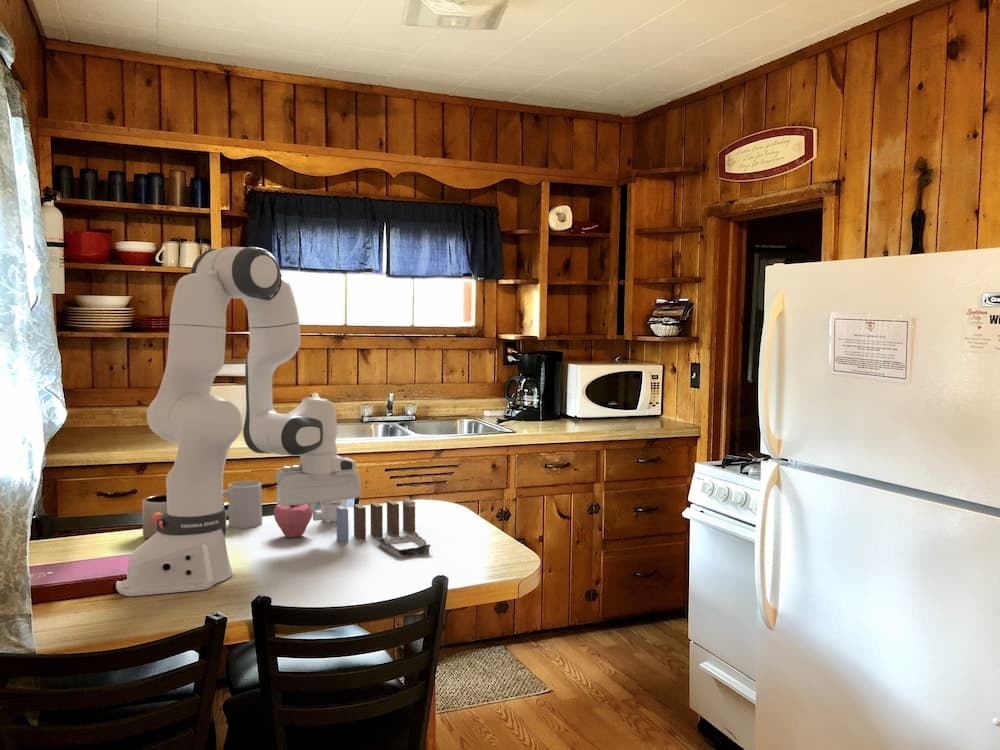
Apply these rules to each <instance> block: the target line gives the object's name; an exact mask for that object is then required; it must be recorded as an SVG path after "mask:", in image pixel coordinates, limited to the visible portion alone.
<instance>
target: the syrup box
mask: <svg viewBox="0 0 1000 750" xmlns="http://www.w3.org/2000/svg"><path fill="white" fill-rule="evenodd" d="M324 506H325V505H324V504H323V502H320V509H321V510H320V512H321V511H322V510H323V508H324ZM338 506H344V507H345V508H347V499H345V500H335V501H331V506H330V508H329V510H328V511H327V513H326V520H321V522H322V521H333V522H332V523H337V522H336V521H337V507H338ZM334 521H335V522H334Z"/></svg>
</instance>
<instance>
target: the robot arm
mask: <svg viewBox="0 0 1000 750" xmlns="http://www.w3.org/2000/svg"><path fill="white" fill-rule="evenodd" d="M190 269H191V270H190V273H188V274H185V275H183V276H182V277H180V278H179V279H178V281H177V282H176V284H175V289H174V292H173V297H172V302H171V308H170V313H169V314H170V315H169V329H168V330H169V331H168V342H167V343H168V347H167V359H166V365H165V368H164V369H165V370H164V373H163V376H162V377H163V378H162V380H161V383H160V386H159V389H158V391H157V394H156V396H155V398H154V399H153V400H152V401H151V402H150V403H149V406H148V408H147V409H146V410H147V412H146V422H147V425H148V427H149V429H150V430H151V431H152V432H153V434H155V435H157V436H158V437H160V438H161V439H163V440H164V441H166V442H169V443H175V444H177V451H176V455H175V456H176V457H175V460H174V464H173V466H172V468H171V469H170V470H169V471H168V473H167V475H166V479H165V480H166V482H165V483H166V485H165V486H166V489H165V490H166V494H167V512H166V513H164V514H163V515H162V514H161V513H155V514H154V515H153V517H152V518H153V521H154V522H155V523H157V531H158V532H156V533H155V534H154V535H153V536H152V537H150V538H149V539H147V540H146V541H144V542H143V543H142V544H141V545H139V546H138V547H136V548H135V549H134V550H133V552H132V553H131V555H130V558H129V559H128V565H127V571H126V573H127V579H126V580H123V581H117V580H116V581H117V582H116V581H115V589H116V591H117V592H118V593H119V594H120V595H123V596H126V597H138V596H148V595H159V594H169V593H171V594H173V593H182V592H193V591H203V590H209V588H211V587H212V586H214V585H216V584H218V583H221V582H223V581H225V580H228V579H229V578H230V577H231V576H232V575H233V573H234V572H233V570H232V566H231V564H230V563H231V562H230V559H229V556H228V549H227V544H226V531H227V517H226V513H225V511H226V509H225V508H224V497H223V491H224V472H225V466H226V465H225V463H226V460H227V457H228V454H229V450H230V447H231V445H232V444H233V443H234V442H235V440H237V439H238V437H239V435H240V433H241V431H242V430H243V438H244V439H243V440H244V443H245V444H246V446H247V448H248V449H250V450H251V451H252V452H254V453H257V454H273V455H279V456H280V455H281V456H291V457H294V456H299V458H300V459H299V460H300V461H299V463H300V464H298V465H297V464H296V465H291V466H290V465H289V466H287V465H285V466H282V467H281V468H279V469H278V470H276V472H275V483H276V485H277V486H276V487H277V488H276V493H275V494H276V502H277V504H280V505H281V506H289V505H298V504H308V507H309V508H310V510H311V511H312V513H313V514H312V520H313V521H316V522H317V521H322V520H326V513H327V511H328V510H329V508H330V506H331V501H335V500H345V499H346V500H351V499H359V497H360V496H361V494H362V485H361V478H360V473H359V472H358V471H356V469H357V468H358V467H357V465H358V464H357V463H358V462H356V461H355V460H354V459H351V458H349V457H345V456H343V455H338V448H337V445H336V439H337V435H338V420H337V411H336V407H335V404H334V402H333V401H331V400H330V399H328V398H320V397H319V398H318V397H311V396H310V397H309V396H307V397H303V398H302V400H301V402H300V404H299V405H298V406H296V407H295V408H294V409H292V410H290V411H289V412H287V413H282V412H281V413H280V412H277V411H276V409H275V408H274V405H273V404H274V403H273V397H274V396H273V376H274V373H275V371H276V369H277V368H278V367H279V366H281V365H283V364H284V363H286V362H288V361H289V360H291V359H292V358H293V357H294V356H296V354H297V352H298V351H299V349H300V347H301V339H302V338H301V326H300V320H299V318H300V317H299V313H298V308H297V303H296V300H295V295H294V293H293V290H292V288H291V284H290V283H289V281H288V280H287V279H286V278H284V277H283V275H282V272H281V268H280V265H279V263H278V260H277V259H276V258H275V256H274V255H273V254H272V252H270V251H268V250H267V249H264V248H262V247H256V246H248V247H245V246H243V247H242V246H226V247H220V248H211V249H209V250H206V251H204V252H202V253H200V254H199V255H198V256H197V257H196V258H195V260H194V262H193V264H192V267H191V268H190ZM232 299H241V300H242V302H243V304H244V305H245V307H246V310H247V319H248V320H247V321H248V327H249V349H248V351H247V354H246V355H245V356H246V357H245V366H244V367H245V368H244V369H245V372H244V373H245V376H244V377H245V404H246V405H245V407H246V409H245V419H244V423H243V417H242V415H241V411H240V410H239V408H238V407H237V406H236V405H235V404H234V403H232V402H230V401H229V400H227V399H225V398H223V397H221V396H218V395H214V394H211V390H212V387H213V384H214V382H215V378H216V377H217V375H218V373H219V372H220V371H221V370H222V369H223V367H224V365H225V357H226V356H225V355H226V353H225V352H226V335H227V334H226V333H227V331H226V330H227V329H226V328H227V310H228V305H229V304H230V301H231V300H232ZM242 427H243V429H242ZM321 502H323V504H324V505H325V506H324V508H323V510H322V511H321V510H320V511H316V509H315V508H316V507H317V503H321Z"/></svg>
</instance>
